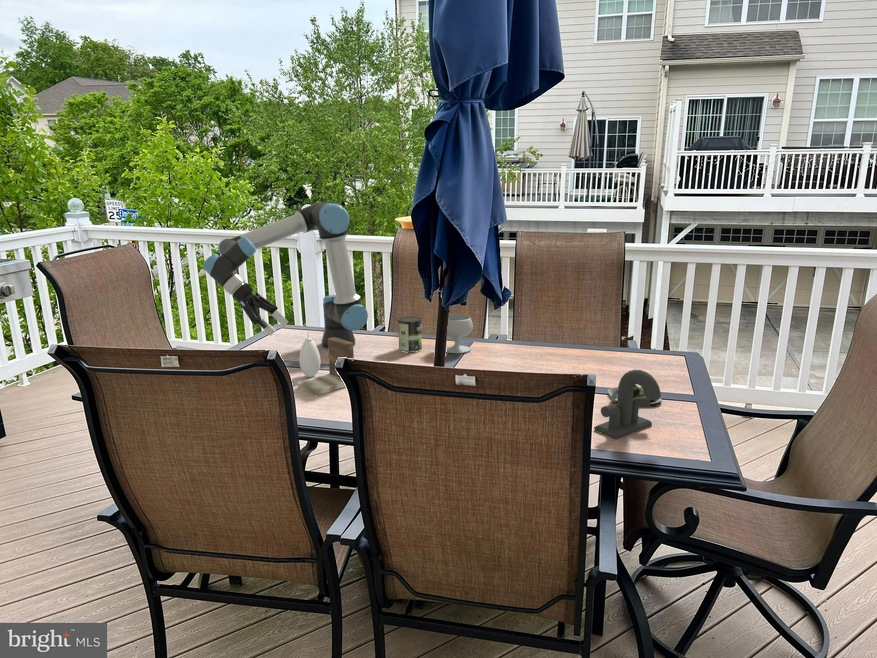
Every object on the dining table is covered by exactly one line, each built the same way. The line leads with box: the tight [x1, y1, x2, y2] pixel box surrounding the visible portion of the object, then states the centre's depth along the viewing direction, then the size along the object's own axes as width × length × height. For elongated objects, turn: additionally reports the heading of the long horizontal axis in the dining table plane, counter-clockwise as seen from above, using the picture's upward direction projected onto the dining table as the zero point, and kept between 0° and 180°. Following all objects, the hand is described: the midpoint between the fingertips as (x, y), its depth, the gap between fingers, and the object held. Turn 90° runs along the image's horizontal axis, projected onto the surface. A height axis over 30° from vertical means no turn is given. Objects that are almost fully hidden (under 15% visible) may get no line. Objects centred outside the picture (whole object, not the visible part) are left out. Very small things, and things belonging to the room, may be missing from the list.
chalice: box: [446, 313, 474, 355], centre depth 269 cm, size 14×14×15 cm
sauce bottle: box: [298, 332, 321, 378], centre depth 236 cm, size 8×8×18 cm
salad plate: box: [607, 384, 662, 408], centre depth 215 cm, size 19×18×5 cm
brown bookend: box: [297, 337, 355, 396], centre depth 226 cm, size 17×12×16 cm
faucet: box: [593, 369, 662, 440], centre depth 185 cm, size 18×16×20 cm
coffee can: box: [397, 315, 423, 353], centre depth 271 cm, size 10×10×14 cm
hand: (279, 328), depth 235 cm, fingers open, 13 cm apart
